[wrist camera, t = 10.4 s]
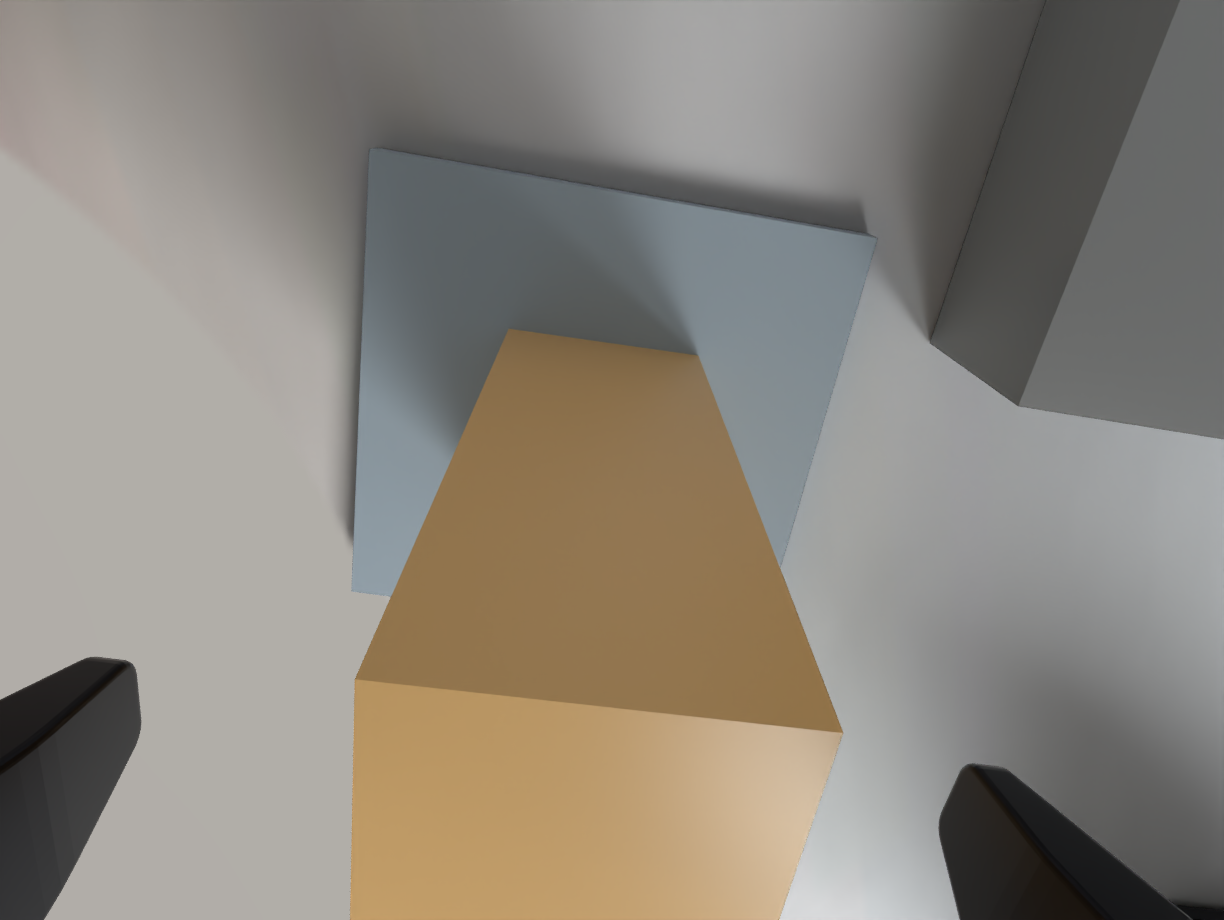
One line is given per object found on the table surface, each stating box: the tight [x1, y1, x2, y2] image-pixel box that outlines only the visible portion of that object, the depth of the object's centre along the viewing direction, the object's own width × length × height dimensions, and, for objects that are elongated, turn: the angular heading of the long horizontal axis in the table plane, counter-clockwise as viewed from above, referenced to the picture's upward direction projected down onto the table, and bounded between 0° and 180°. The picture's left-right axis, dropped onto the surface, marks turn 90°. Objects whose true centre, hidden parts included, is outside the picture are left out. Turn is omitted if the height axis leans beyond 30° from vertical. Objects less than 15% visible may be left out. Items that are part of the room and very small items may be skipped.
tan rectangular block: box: [350, 329, 843, 920], centre depth 12 cm, size 4×4×11 cm
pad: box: [352, 148, 878, 597], centre depth 18 cm, size 10×10×1 cm
